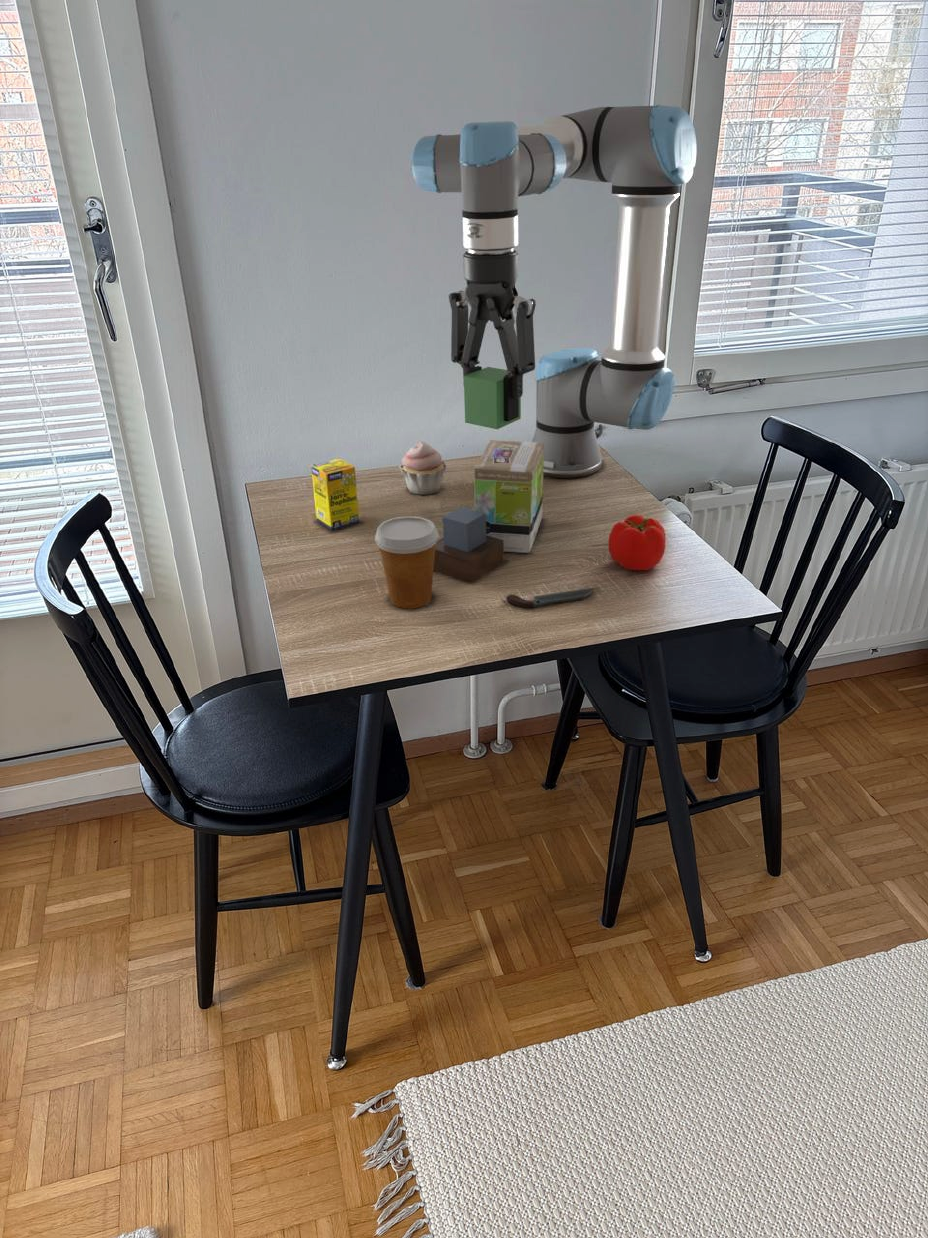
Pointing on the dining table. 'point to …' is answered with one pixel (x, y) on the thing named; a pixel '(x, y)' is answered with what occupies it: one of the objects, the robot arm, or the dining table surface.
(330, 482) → the supplement box
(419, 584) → the disposable coffee cup
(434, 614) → the dining table surface
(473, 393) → the green block
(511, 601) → the knife
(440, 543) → the walnut plinth
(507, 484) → the tea box
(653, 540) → the tomato
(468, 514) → the slate block
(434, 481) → the cupcake
